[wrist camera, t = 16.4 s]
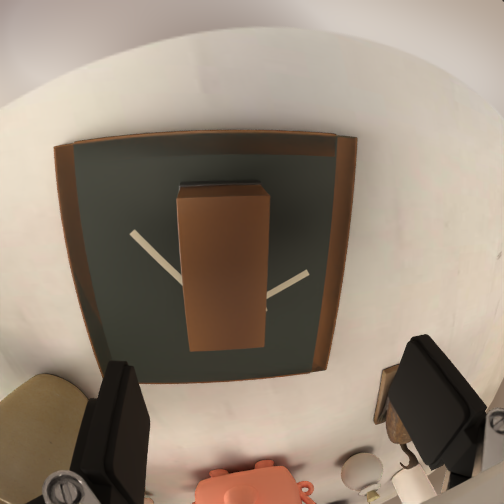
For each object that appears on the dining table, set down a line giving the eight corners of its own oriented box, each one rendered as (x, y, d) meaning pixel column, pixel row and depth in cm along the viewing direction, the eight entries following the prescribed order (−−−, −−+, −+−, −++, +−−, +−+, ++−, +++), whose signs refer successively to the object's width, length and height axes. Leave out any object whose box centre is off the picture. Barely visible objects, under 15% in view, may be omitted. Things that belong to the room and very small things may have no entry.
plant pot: (49, 320, 23) (-27, 474, 8) (153, 421, 29) (147, 560, 14) (-20, 368, 24) (-74, 473, 9) (68, 446, 30) (47, 550, 15)
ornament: (376, 440, 37) (402, 493, 28) (371, 461, 40) (393, 509, 31) (336, 454, 36) (358, 511, 27) (335, 474, 39) (354, 524, 30)
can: (387, 483, 46) (408, 528, 35) (395, 470, 44) (418, 518, 33) (414, 472, 47) (436, 514, 36) (423, 458, 44) (448, 502, 34)
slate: (59, 143, 18) (53, 145, 17) (351, 135, 21) (358, 136, 20) (106, 375, 26) (104, 383, 25) (323, 364, 28) (326, 371, 27)
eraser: (189, 318, 23) (188, 353, 20) (179, 182, 19) (174, 196, 16) (256, 314, 24) (266, 348, 20) (259, 180, 20) (272, 193, 16)
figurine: (397, 425, 36) (423, 471, 28) (369, 437, 36) (392, 485, 28) (416, 356, 31) (457, 409, 23) (382, 369, 30) (419, 428, 22)
